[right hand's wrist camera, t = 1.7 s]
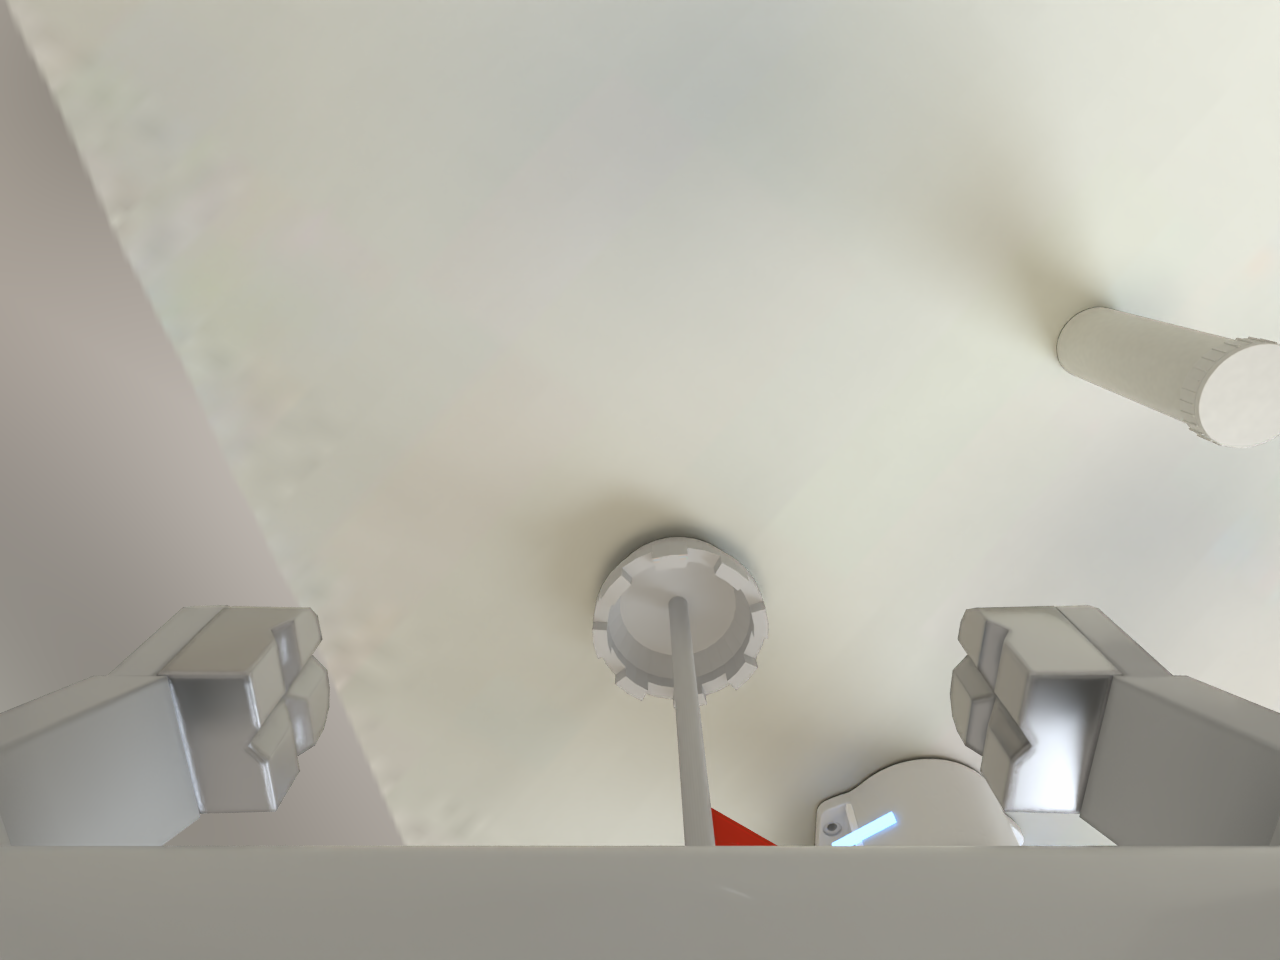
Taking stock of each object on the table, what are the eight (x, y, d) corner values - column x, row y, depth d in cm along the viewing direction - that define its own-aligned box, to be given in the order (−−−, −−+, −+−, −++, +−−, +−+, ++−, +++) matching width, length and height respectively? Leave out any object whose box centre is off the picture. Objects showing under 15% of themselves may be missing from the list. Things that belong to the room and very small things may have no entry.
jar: (1043, 362, 57) (1180, 421, 43) (1080, 296, 56) (1236, 333, 41) (1103, 387, 58) (1258, 453, 43) (1142, 322, 56) (1317, 368, 42)
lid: (1156, 419, 44) (1175, 427, 42) (1219, 320, 42) (1241, 325, 41) (1244, 455, 45) (1266, 464, 43) (1309, 359, 43) (1334, 366, 41)
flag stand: (579, 649, 65) (533, 998, 37) (618, 507, 61) (600, 780, 33) (731, 683, 66) (798, 1047, 38) (780, 546, 62) (896, 842, 34)
